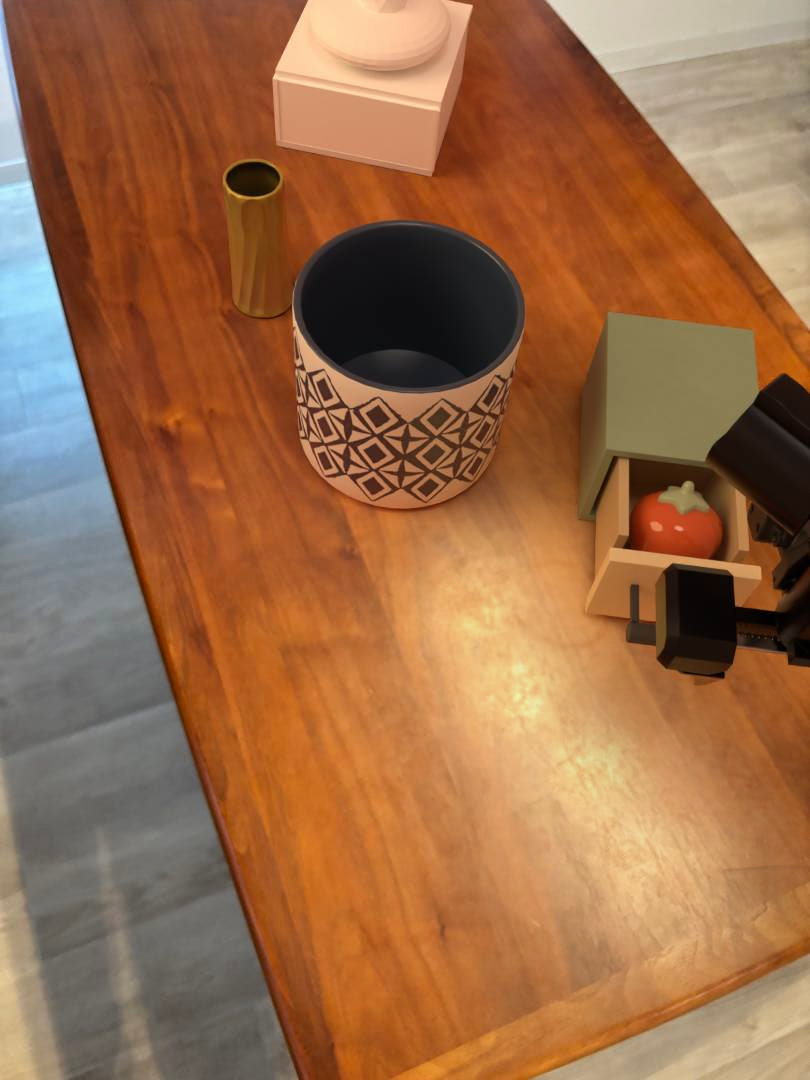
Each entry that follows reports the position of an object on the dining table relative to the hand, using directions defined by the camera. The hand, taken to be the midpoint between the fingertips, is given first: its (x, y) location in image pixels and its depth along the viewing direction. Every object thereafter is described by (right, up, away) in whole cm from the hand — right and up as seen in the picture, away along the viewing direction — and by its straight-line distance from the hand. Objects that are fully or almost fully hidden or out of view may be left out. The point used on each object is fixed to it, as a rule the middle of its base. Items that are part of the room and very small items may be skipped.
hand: (765, 686), depth 67 cm
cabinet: (-2, +17, +25) cm, 30 cm away
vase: (-38, +34, +32) cm, 60 cm away
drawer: (-3, +7, +18) cm, 19 cm away
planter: (-24, +20, +25) cm, 40 cm away
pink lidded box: (-27, +58, +48) cm, 80 cm away
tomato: (-3, +7, +15) cm, 17 cm away
